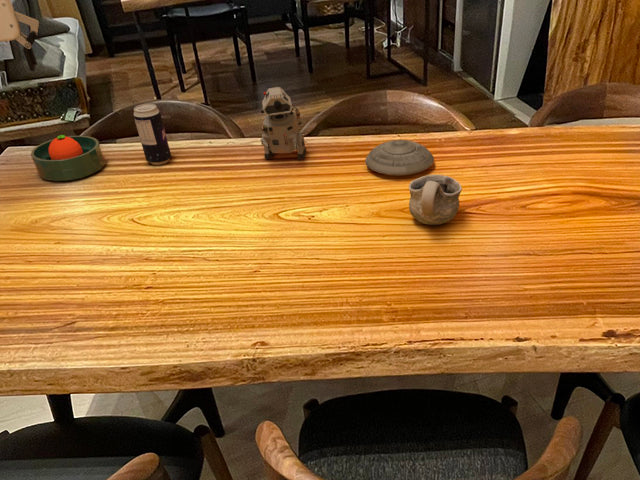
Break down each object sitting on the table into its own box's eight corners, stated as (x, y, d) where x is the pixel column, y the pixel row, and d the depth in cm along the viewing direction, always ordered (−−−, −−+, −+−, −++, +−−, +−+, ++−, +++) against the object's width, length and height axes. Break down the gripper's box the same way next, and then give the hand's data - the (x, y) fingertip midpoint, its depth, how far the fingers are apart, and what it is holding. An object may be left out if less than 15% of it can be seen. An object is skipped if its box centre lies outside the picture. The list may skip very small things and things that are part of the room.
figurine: (259, 171, 137) (247, 100, 127) (270, 150, 145) (260, 82, 135) (299, 171, 136) (291, 100, 126) (308, 150, 145) (301, 82, 135)
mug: (458, 208, 121) (462, 158, 114) (461, 241, 112) (464, 188, 105) (409, 208, 122) (409, 158, 115) (407, 241, 112) (407, 188, 106)
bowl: (37, 187, 134) (28, 165, 131) (42, 162, 144) (33, 141, 141) (106, 176, 137) (98, 154, 134) (105, 153, 147) (98, 132, 144)
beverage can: (173, 163, 142) (160, 109, 134) (148, 168, 140) (132, 113, 132) (170, 154, 146) (156, 101, 138) (145, 158, 144) (130, 105, 136)
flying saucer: (378, 149, 144) (377, 125, 140) (441, 156, 140) (442, 131, 136) (355, 176, 133) (354, 151, 130) (422, 184, 129) (423, 158, 126)
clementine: (56, 162, 143) (44, 131, 138) (88, 158, 144) (77, 127, 139) (54, 176, 137) (42, 144, 132) (87, 171, 138) (76, 139, 134)
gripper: (-89, -23, 108) (-44, 82, 120) (18, -30, 112) (52, 72, 124) (-80, -30, 114) (-38, 71, 125) (22, -36, 118) (54, 62, 129)
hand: (7, 71), depth 124 cm, fingers open, 9 cm apart
